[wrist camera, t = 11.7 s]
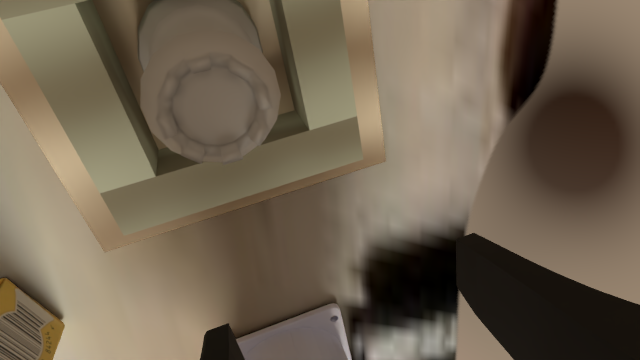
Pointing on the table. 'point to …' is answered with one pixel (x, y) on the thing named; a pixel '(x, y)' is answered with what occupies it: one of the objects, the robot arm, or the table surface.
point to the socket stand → (152, 154)
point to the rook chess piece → (205, 79)
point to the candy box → (26, 326)
